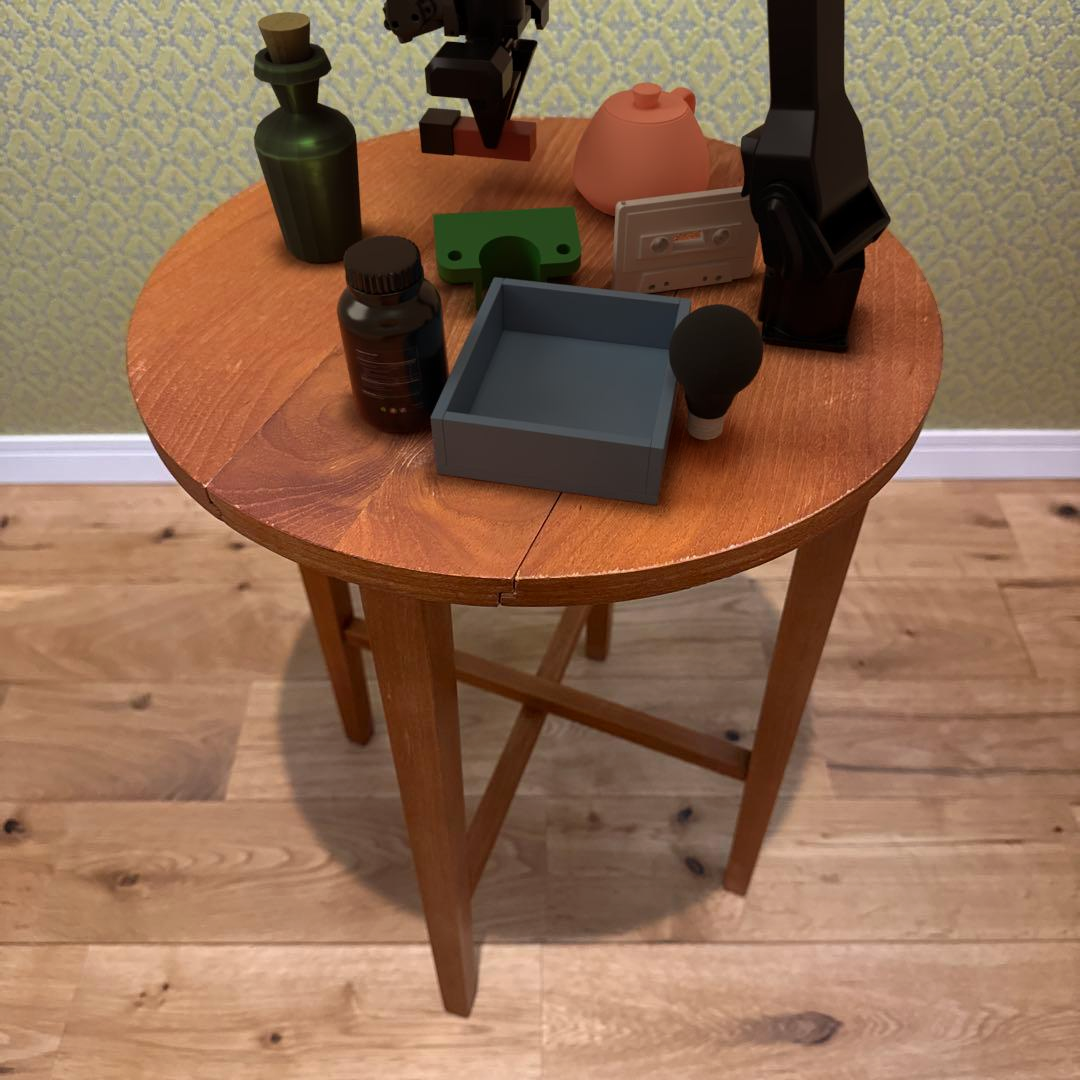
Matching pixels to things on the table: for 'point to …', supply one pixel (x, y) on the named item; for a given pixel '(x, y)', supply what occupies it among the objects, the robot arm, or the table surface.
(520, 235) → the clamp
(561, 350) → the bin
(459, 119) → the red bar
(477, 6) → the robot arm
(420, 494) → the table surface
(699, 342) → the light bulb
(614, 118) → the sugar bowl
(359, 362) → the supplement bottle
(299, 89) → the potion bottle
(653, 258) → the cassette
